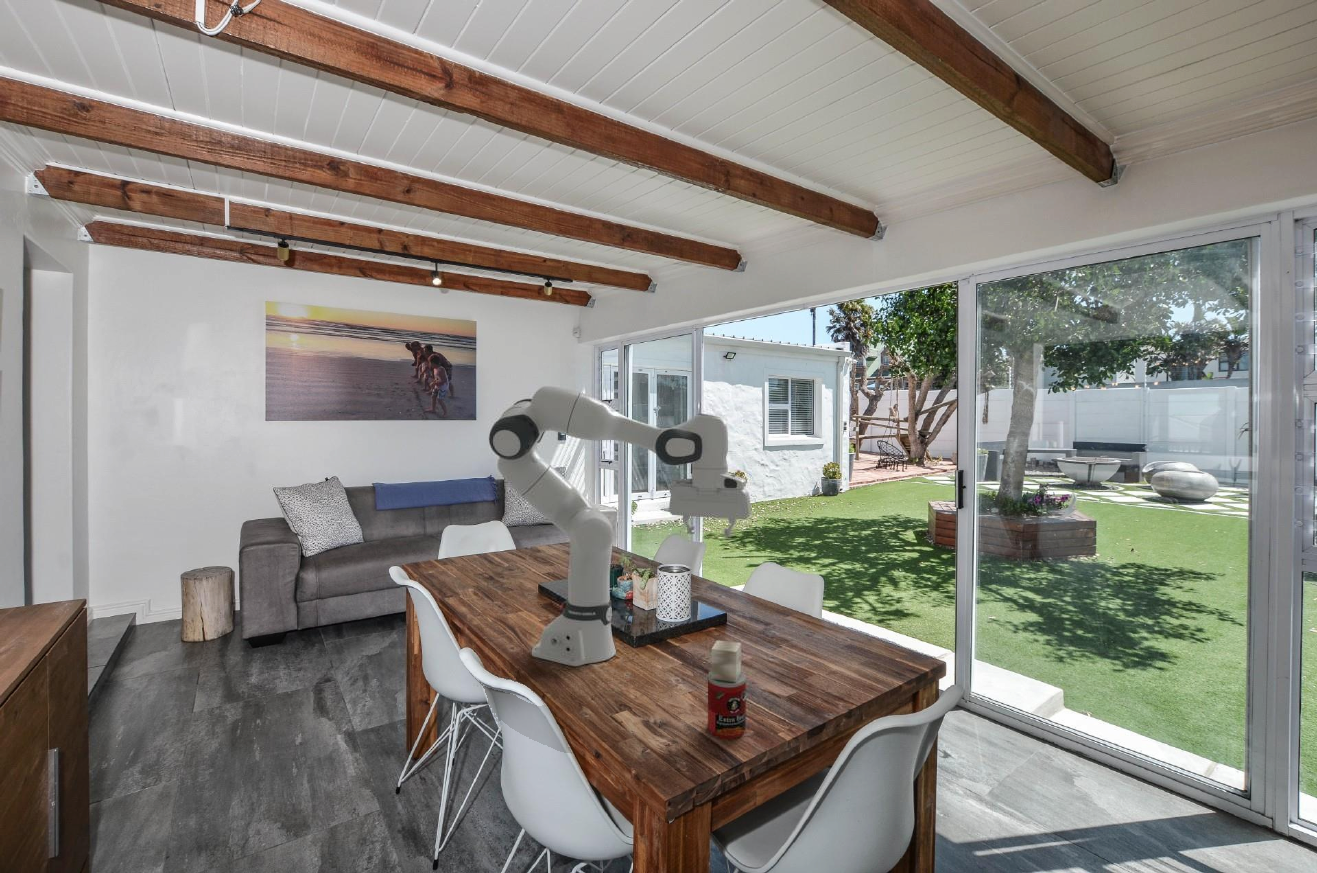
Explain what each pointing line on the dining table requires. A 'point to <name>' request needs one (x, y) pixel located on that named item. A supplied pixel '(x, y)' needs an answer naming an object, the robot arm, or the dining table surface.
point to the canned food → (727, 707)
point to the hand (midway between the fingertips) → (709, 535)
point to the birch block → (726, 661)
